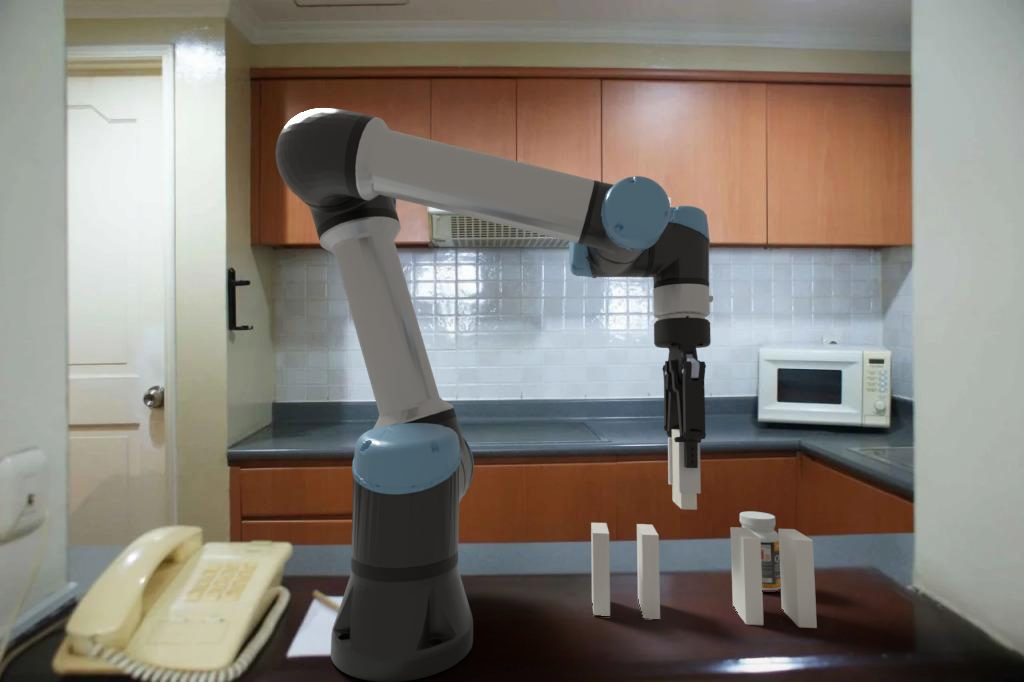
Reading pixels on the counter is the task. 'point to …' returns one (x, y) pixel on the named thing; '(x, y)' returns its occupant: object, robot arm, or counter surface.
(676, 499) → the domino
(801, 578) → the domino
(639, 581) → the domino
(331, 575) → the counter surface
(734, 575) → the domino
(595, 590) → the domino
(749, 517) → the pill bottle
